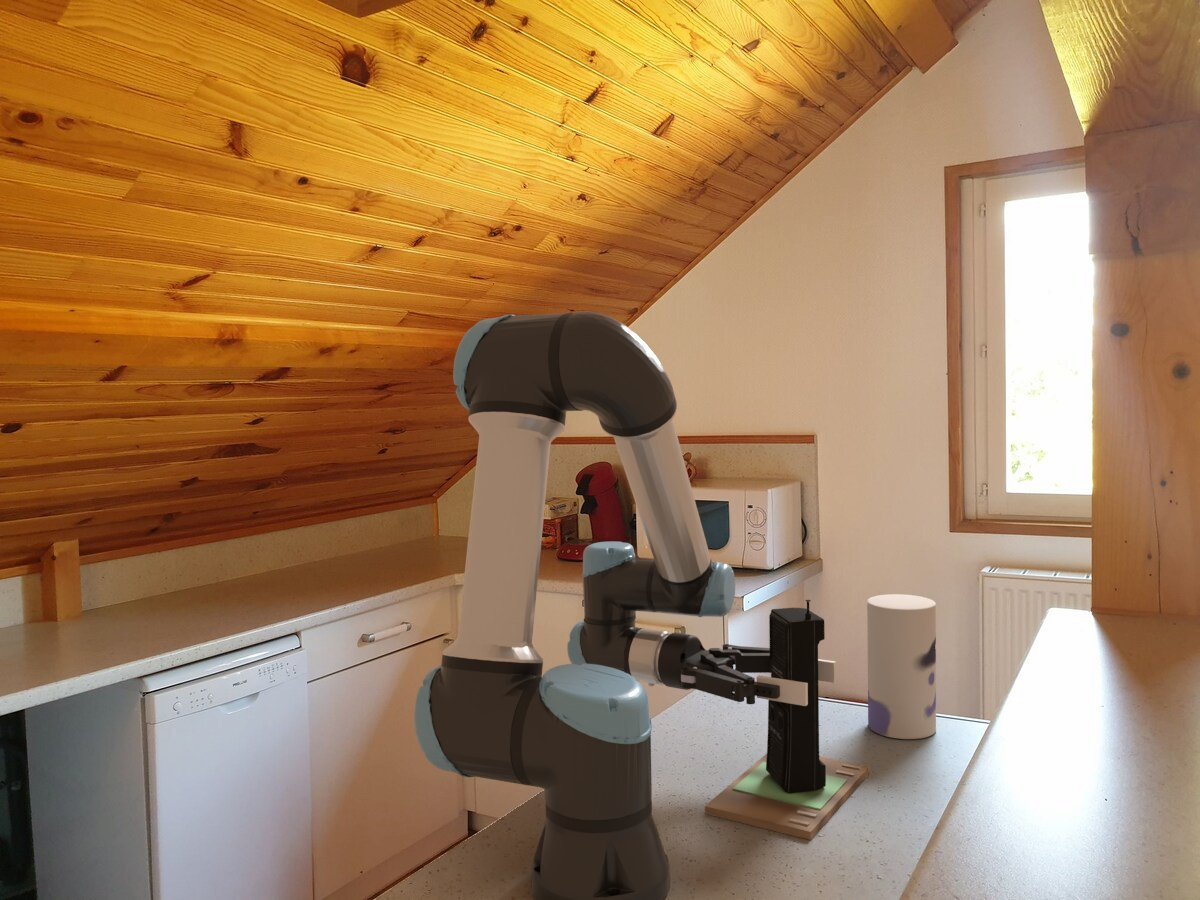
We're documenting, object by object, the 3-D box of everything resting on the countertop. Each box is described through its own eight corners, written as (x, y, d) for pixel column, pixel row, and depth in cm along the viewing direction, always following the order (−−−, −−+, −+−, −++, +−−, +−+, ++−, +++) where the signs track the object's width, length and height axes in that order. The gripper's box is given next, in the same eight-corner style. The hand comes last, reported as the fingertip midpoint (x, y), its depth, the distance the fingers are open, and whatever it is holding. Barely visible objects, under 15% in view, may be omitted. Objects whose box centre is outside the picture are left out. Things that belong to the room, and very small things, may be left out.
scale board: (810, 840, 115) (810, 830, 115) (704, 813, 123) (704, 804, 123) (869, 773, 133) (869, 765, 133) (774, 754, 141) (773, 746, 141)
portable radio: (761, 770, 132) (758, 590, 130) (803, 765, 134) (801, 586, 131) (783, 795, 125) (780, 604, 123) (827, 789, 126) (825, 600, 124)
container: (940, 741, 144) (940, 609, 142) (870, 738, 146) (869, 607, 144) (931, 718, 154) (931, 593, 152) (865, 715, 156) (865, 592, 154)
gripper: (705, 664, 146) (850, 686, 134) (628, 708, 128) (788, 739, 116) (704, 615, 146) (849, 633, 133) (626, 653, 127) (787, 678, 115)
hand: (821, 682), depth 125 cm, fingers open, 9 cm apart
